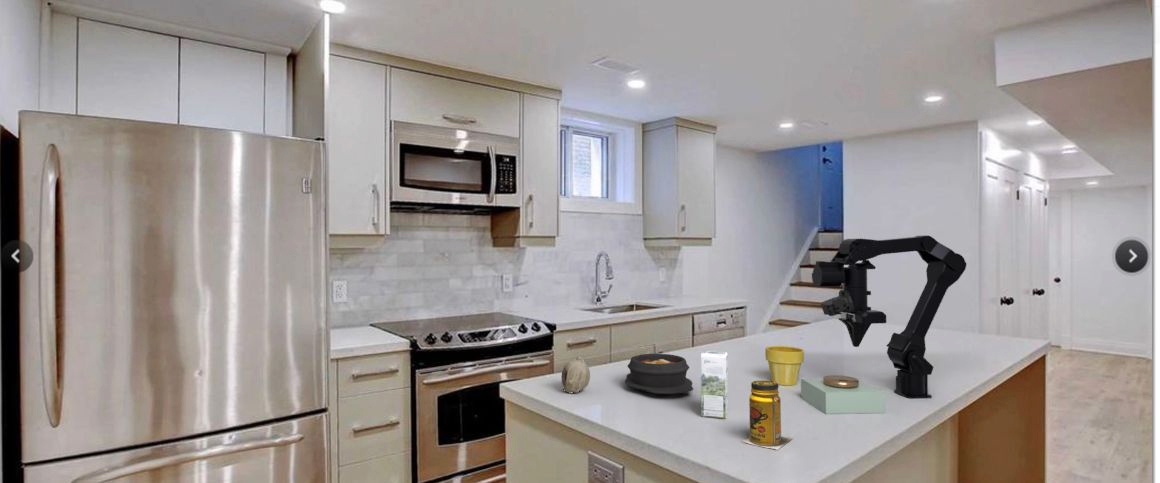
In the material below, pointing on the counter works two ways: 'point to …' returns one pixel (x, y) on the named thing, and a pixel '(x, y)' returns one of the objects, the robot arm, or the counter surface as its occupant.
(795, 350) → the plant pot
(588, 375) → the garlic bulb
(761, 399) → the condiment
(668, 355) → the casserole
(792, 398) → the counter surface
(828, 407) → the base
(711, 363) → the syrup box
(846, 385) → the copper round dome
